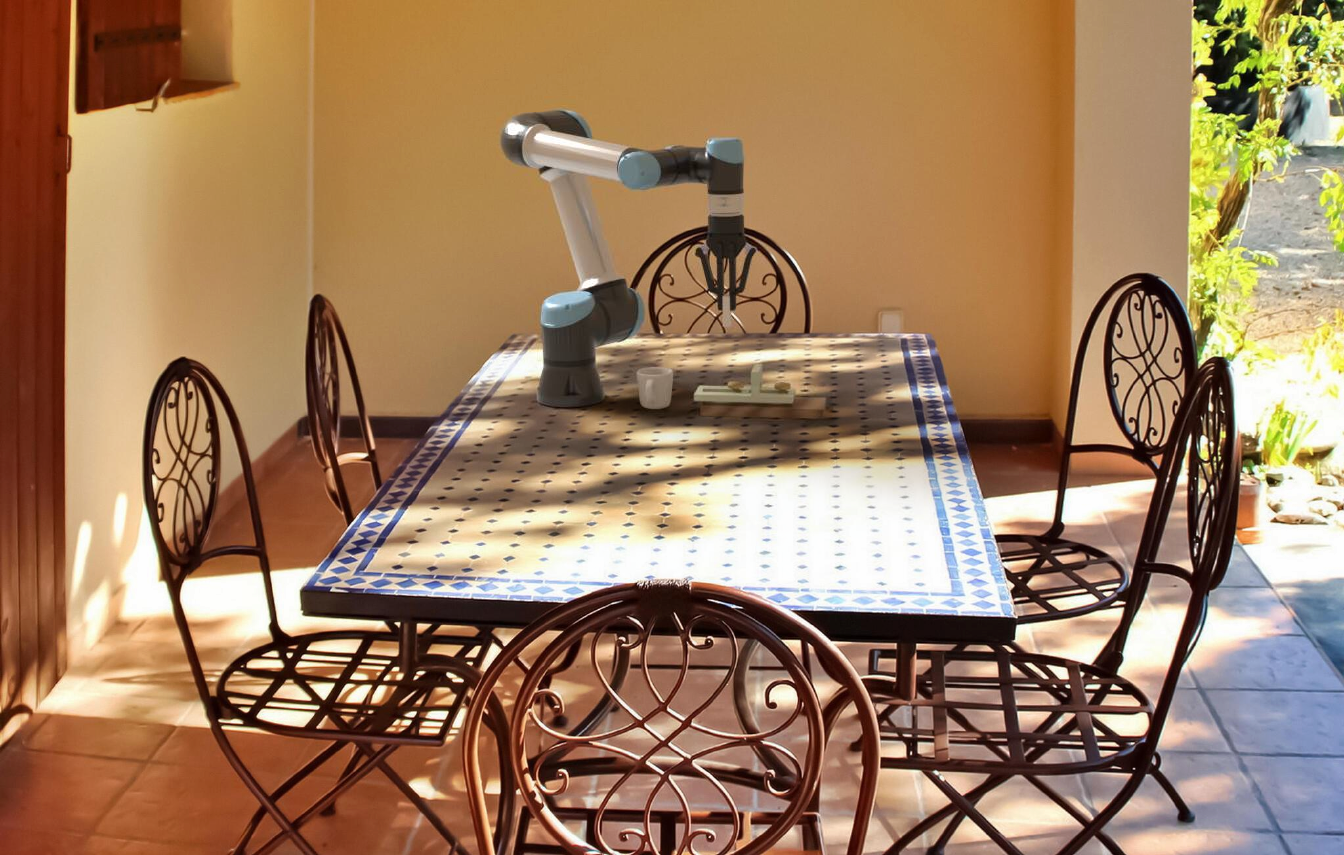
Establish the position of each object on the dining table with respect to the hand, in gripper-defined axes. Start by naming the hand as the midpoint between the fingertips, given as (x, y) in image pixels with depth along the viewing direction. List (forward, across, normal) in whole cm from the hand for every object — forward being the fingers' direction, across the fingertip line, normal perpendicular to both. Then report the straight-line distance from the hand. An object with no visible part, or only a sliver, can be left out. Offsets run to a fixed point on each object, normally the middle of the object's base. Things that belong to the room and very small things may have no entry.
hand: (727, 325), depth 304 cm
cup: (+19, -16, 0) cm, 25 cm away
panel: (+16, +4, 0) cm, 16 cm away
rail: (+19, +8, 0) cm, 20 cm away
